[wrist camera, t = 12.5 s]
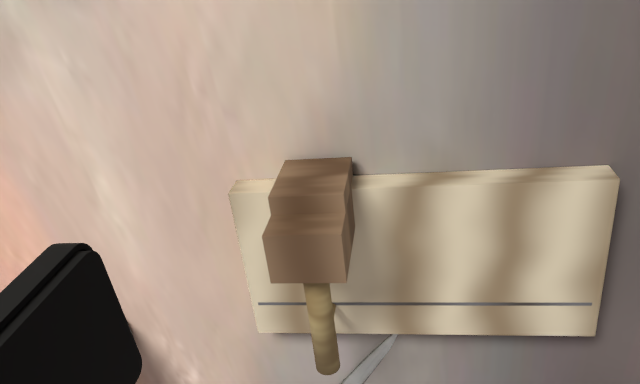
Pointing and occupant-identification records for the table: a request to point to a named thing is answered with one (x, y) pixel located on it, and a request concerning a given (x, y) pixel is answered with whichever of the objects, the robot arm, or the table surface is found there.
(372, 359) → the scissors
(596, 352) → the table surface
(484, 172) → the maple board
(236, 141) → the table surface
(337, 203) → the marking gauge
